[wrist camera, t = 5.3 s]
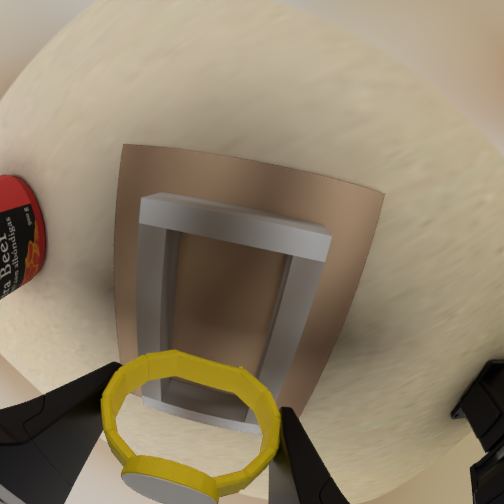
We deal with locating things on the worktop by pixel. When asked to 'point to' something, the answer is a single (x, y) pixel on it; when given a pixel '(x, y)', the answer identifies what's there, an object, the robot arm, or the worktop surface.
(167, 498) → the watch
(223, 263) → the track board
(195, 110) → the worktop surface
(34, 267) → the canned food
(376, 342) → the worktop surface
